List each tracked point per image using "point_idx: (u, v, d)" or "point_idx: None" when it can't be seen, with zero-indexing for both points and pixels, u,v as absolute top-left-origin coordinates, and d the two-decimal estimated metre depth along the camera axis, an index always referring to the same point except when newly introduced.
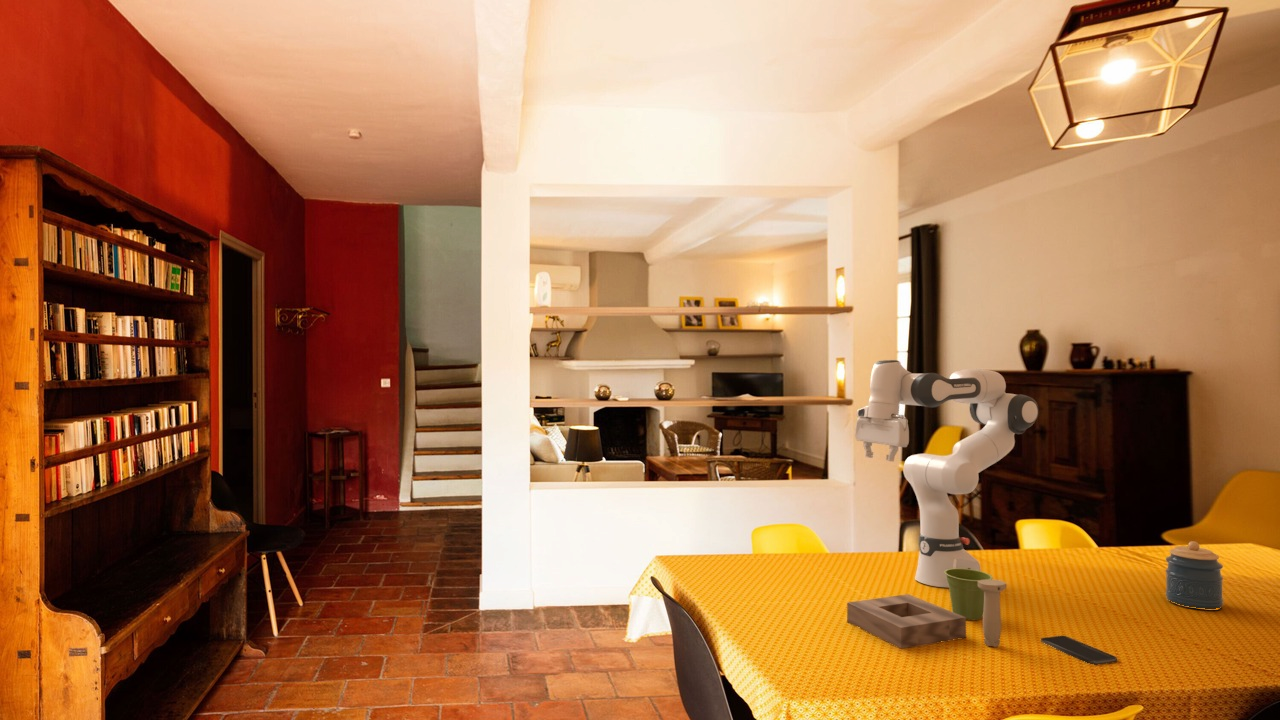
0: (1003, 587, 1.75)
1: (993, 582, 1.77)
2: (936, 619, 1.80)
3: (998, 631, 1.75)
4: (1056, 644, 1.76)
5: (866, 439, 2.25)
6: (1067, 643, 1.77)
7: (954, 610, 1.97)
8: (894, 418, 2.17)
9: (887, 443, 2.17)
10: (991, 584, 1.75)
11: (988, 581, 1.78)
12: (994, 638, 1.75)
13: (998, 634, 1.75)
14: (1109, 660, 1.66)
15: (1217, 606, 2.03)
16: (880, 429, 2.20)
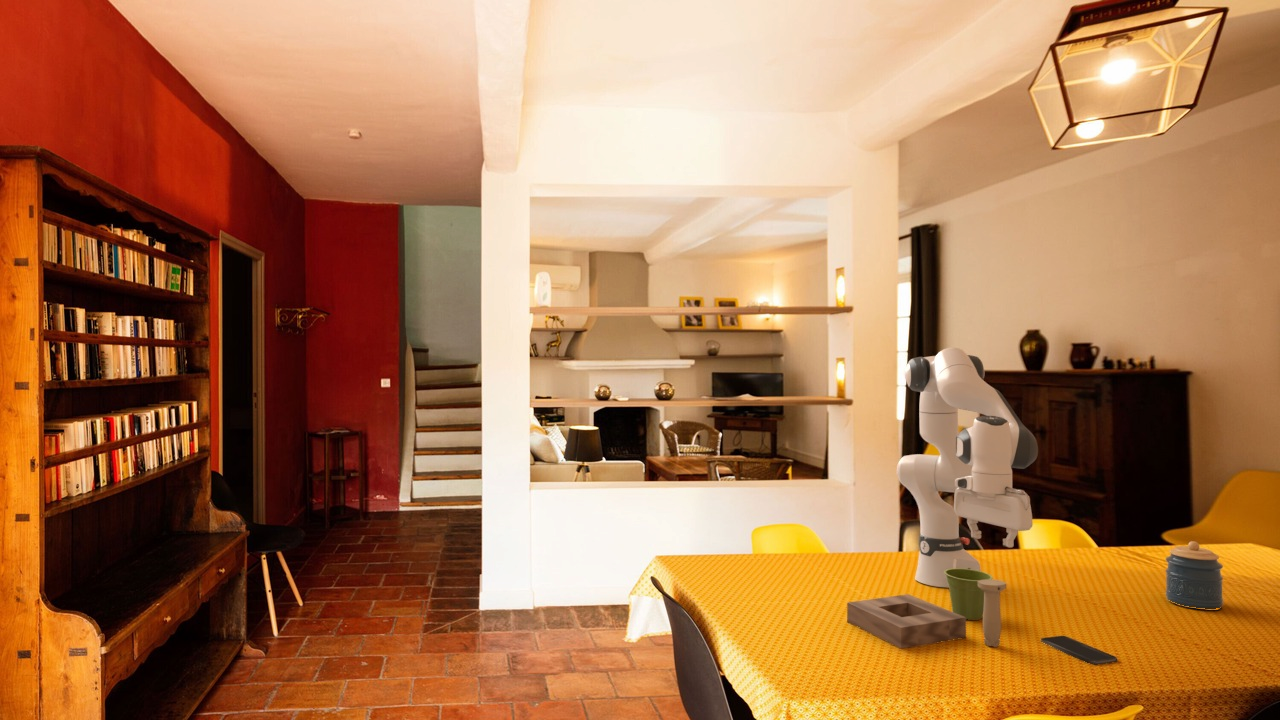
0: (1003, 587, 1.75)
1: (993, 582, 1.77)
2: (936, 619, 1.80)
3: (998, 631, 1.75)
4: (1056, 644, 1.76)
5: (971, 516, 1.80)
6: (1067, 643, 1.77)
7: (954, 610, 1.97)
8: (1009, 493, 1.72)
9: (1003, 525, 1.72)
10: (991, 584, 1.75)
11: (988, 581, 1.78)
12: (994, 638, 1.75)
13: (998, 634, 1.75)
14: (1109, 660, 1.66)
15: (1217, 606, 2.03)
16: (990, 506, 1.75)
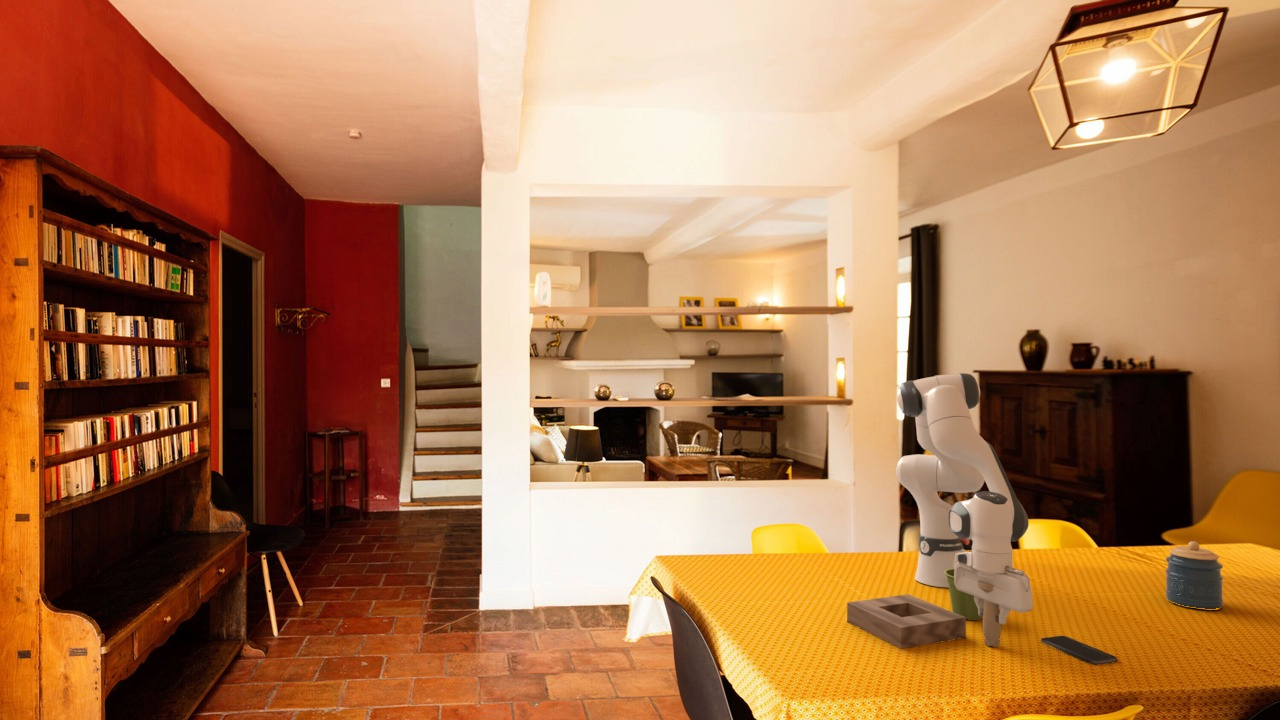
0: None
1: None
2: (936, 619, 1.80)
3: (998, 631, 1.75)
4: (1056, 644, 1.76)
5: (971, 592, 1.80)
6: (1067, 643, 1.77)
7: (954, 610, 1.97)
8: (1010, 573, 1.72)
9: (1003, 605, 1.72)
10: (991, 584, 1.75)
11: None
12: (994, 638, 1.75)
13: (998, 634, 1.75)
14: (1109, 659, 1.66)
15: (1217, 606, 2.03)
16: None
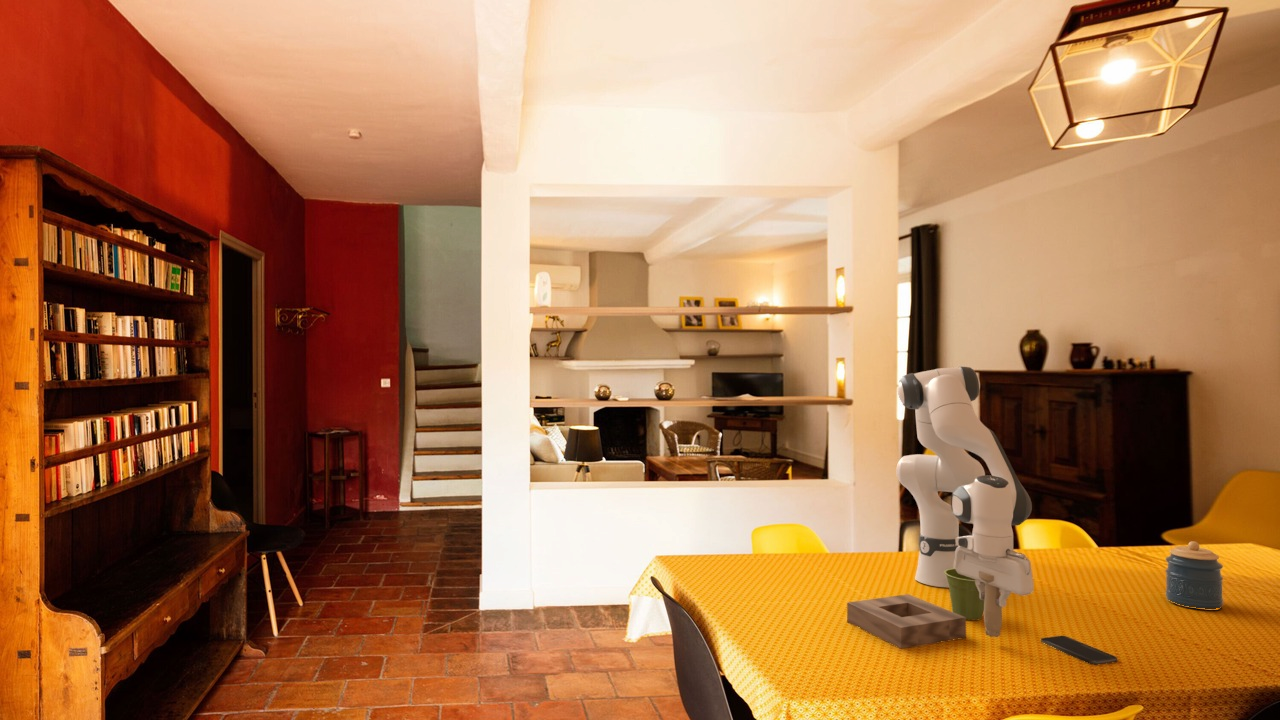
0: None
1: None
2: (936, 619, 1.80)
3: (999, 621, 1.76)
4: (1056, 644, 1.76)
5: (972, 575, 1.80)
6: (1067, 643, 1.77)
7: (954, 610, 1.97)
8: (1010, 556, 1.72)
9: (1004, 588, 1.72)
10: None
11: None
12: (995, 628, 1.75)
13: (999, 624, 1.76)
14: (1109, 659, 1.66)
15: (1217, 606, 2.03)
16: (991, 568, 1.76)
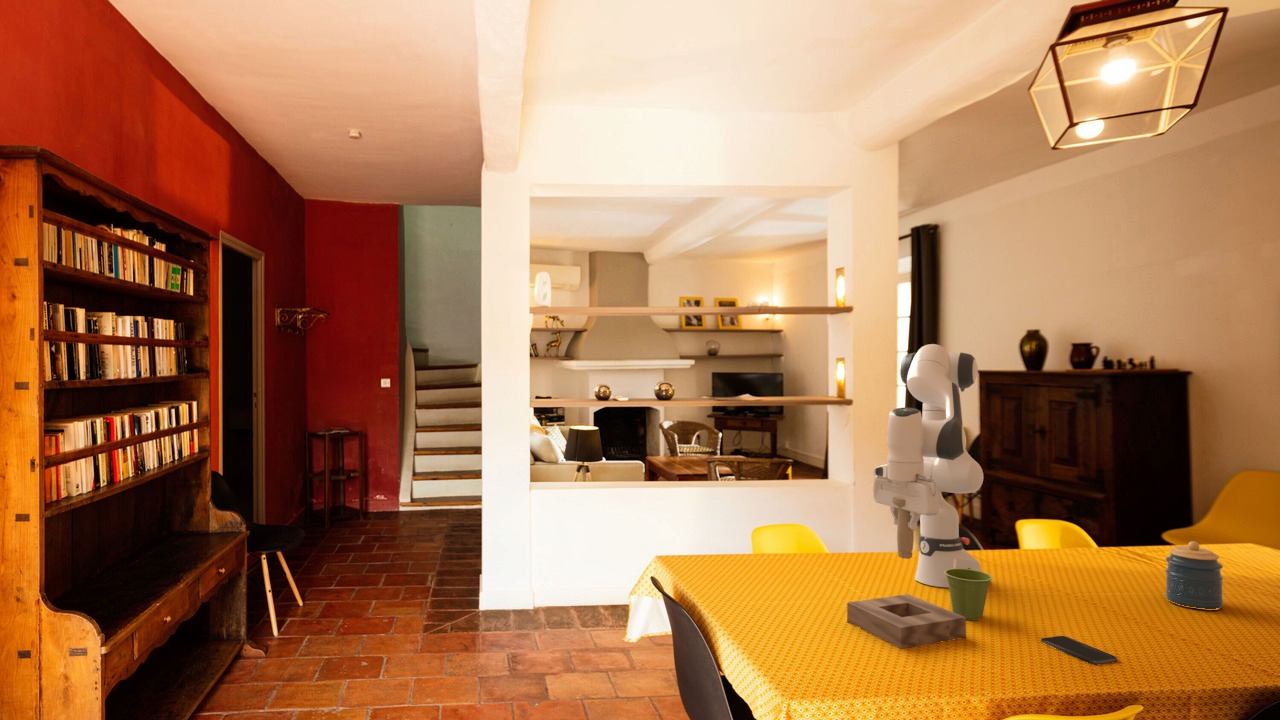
0: None
1: None
2: (936, 619, 1.80)
3: (910, 543, 1.86)
4: (1056, 644, 1.76)
5: (887, 502, 1.91)
6: (1067, 643, 1.77)
7: (954, 610, 1.97)
8: (919, 480, 1.82)
9: (913, 510, 1.82)
10: None
11: None
12: (907, 550, 1.86)
13: (910, 546, 1.86)
14: (1109, 659, 1.66)
15: (1217, 606, 2.03)
16: (903, 493, 1.86)
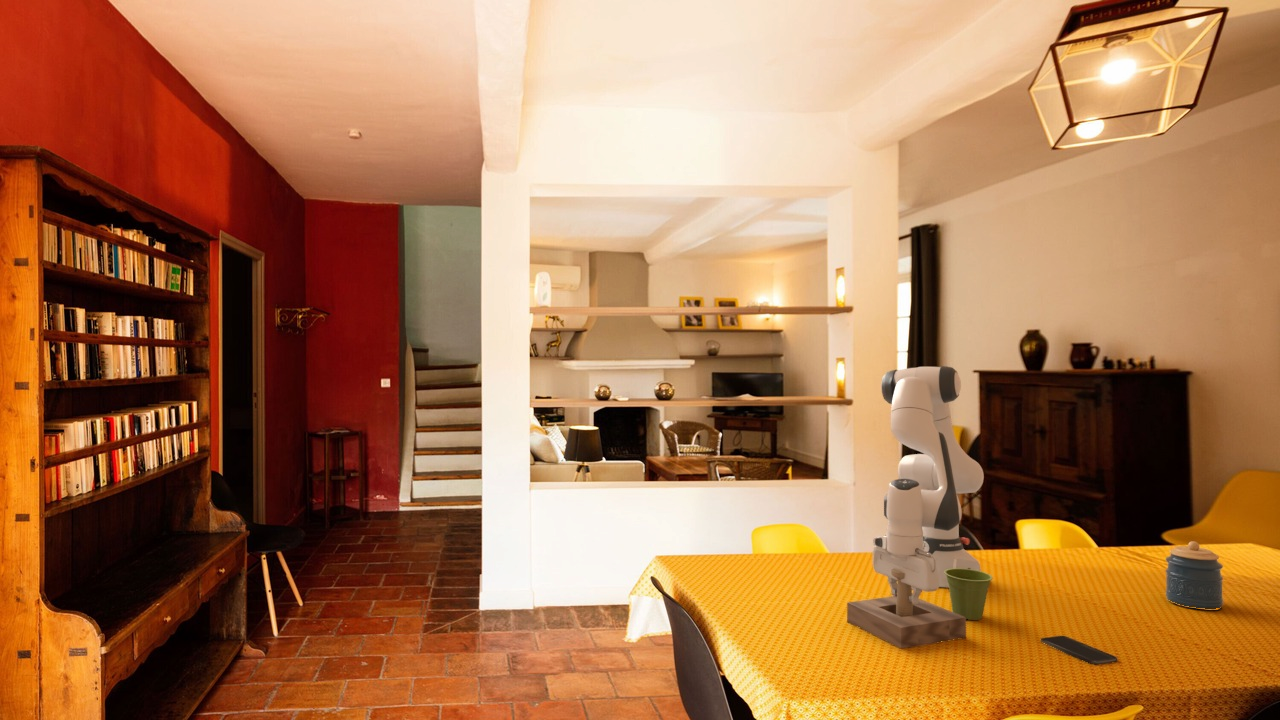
0: None
1: None
2: (936, 619, 1.80)
3: None
4: (1056, 644, 1.76)
5: (887, 573, 1.91)
6: (1067, 643, 1.77)
7: (954, 610, 1.97)
8: (919, 554, 1.82)
9: (913, 585, 1.82)
10: (903, 572, 1.86)
11: None
12: None
13: None
14: (1110, 659, 1.66)
15: (1217, 606, 2.03)
16: (903, 566, 1.86)
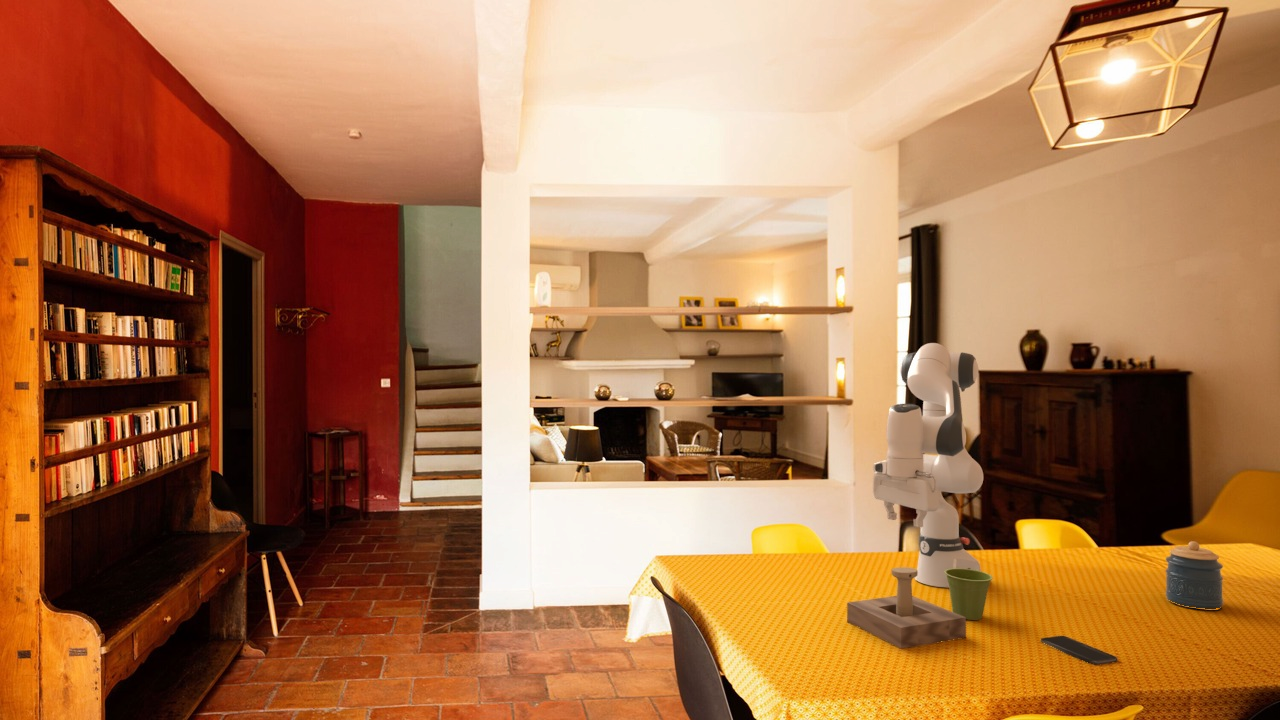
0: (914, 574, 1.85)
1: (905, 570, 1.87)
2: (936, 619, 1.80)
3: None
4: (1056, 644, 1.76)
5: (887, 498, 1.91)
6: (1067, 643, 1.77)
7: (954, 610, 1.97)
8: (919, 476, 1.82)
9: (913, 506, 1.82)
10: (903, 571, 1.86)
11: (901, 569, 1.88)
12: None
13: None
14: (1110, 659, 1.66)
15: (1217, 606, 2.03)
16: (903, 489, 1.86)
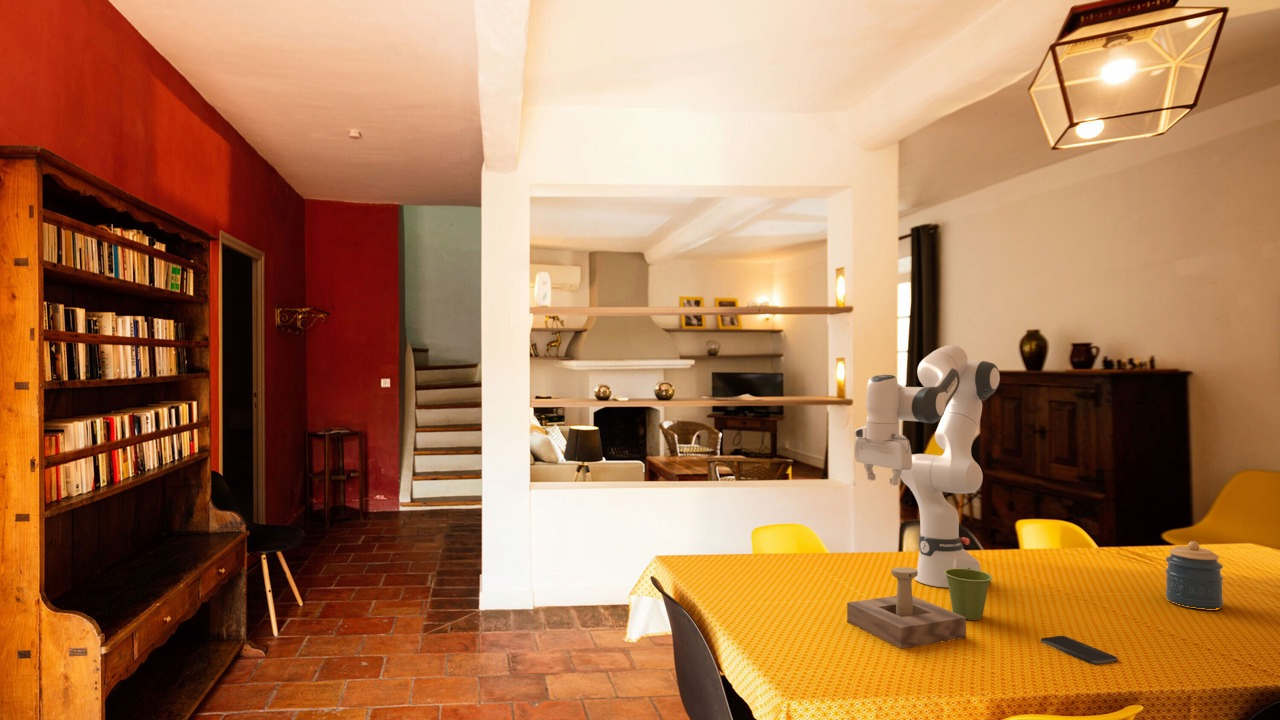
0: (914, 574, 1.86)
1: (906, 570, 1.87)
2: (936, 619, 1.80)
3: None
4: (1056, 644, 1.76)
5: (866, 461, 2.11)
6: (1067, 643, 1.77)
7: (954, 610, 1.97)
8: (895, 439, 2.02)
9: (889, 466, 2.02)
10: (903, 571, 1.86)
11: (901, 569, 1.88)
12: None
13: None
14: (1110, 659, 1.67)
15: (1217, 606, 2.03)
16: (880, 451, 2.06)
